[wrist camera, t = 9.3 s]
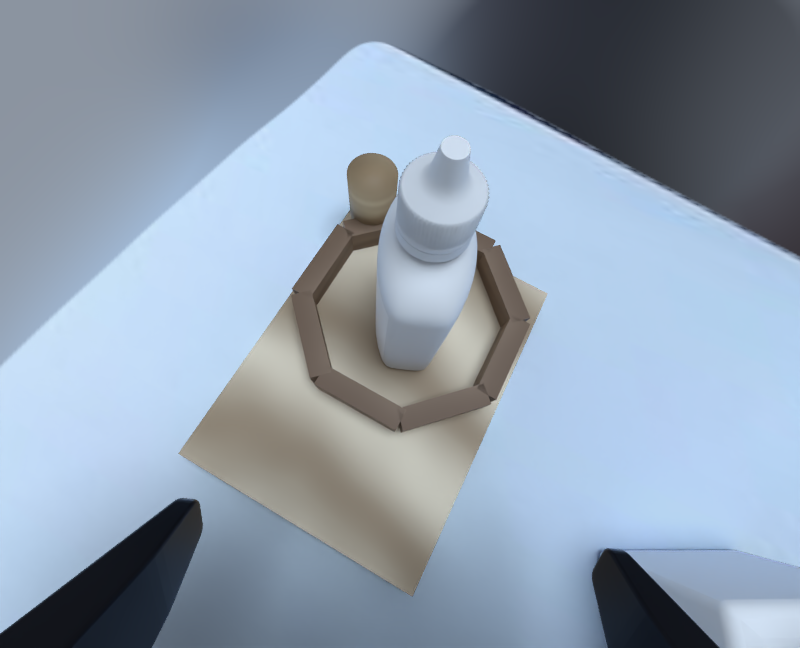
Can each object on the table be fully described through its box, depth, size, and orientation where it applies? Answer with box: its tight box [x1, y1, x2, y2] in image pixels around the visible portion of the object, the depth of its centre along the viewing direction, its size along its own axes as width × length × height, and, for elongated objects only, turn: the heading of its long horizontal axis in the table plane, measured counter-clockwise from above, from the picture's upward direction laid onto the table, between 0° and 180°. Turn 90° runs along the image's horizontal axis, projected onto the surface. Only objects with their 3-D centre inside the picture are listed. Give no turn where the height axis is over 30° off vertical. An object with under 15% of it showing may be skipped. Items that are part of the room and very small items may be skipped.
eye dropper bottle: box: [375, 135, 489, 371], centre depth 14 cm, size 4×6×12 cm
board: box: [178, 153, 547, 596], centre depth 18 cm, size 16×12×5 cm
